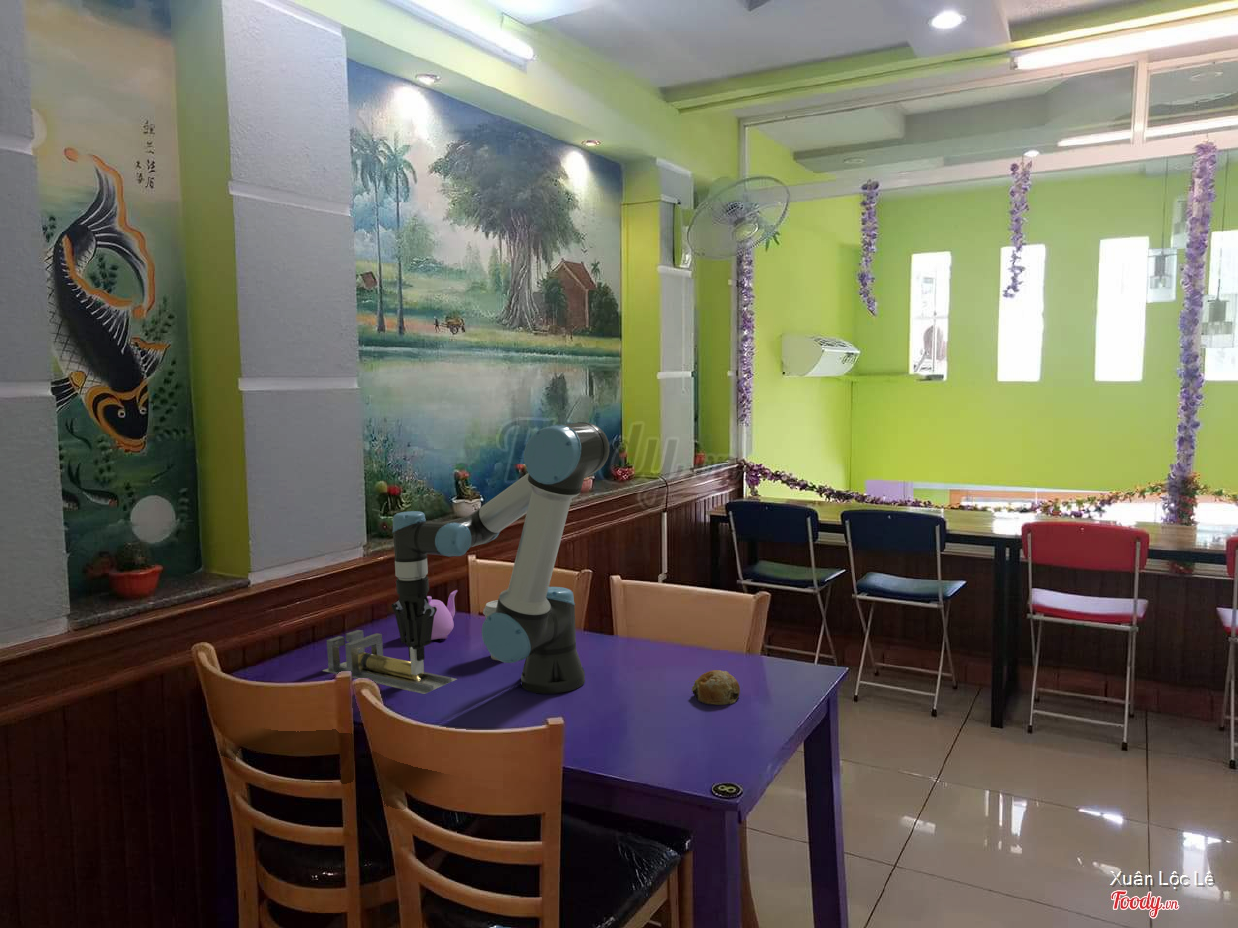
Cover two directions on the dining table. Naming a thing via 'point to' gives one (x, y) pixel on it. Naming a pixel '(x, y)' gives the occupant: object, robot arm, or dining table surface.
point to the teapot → (442, 617)
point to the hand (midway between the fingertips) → (417, 672)
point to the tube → (387, 665)
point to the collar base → (351, 664)
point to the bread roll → (716, 688)
